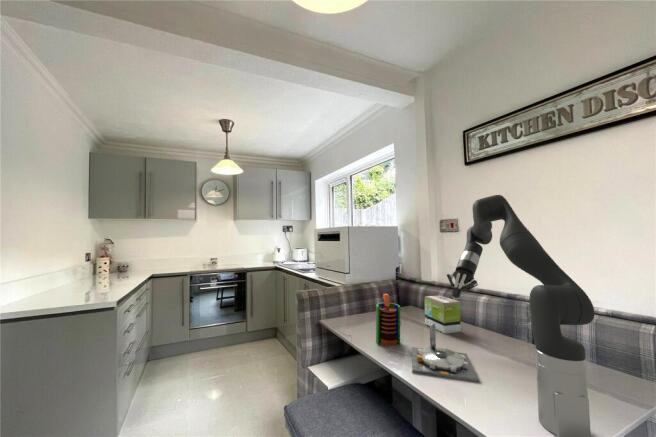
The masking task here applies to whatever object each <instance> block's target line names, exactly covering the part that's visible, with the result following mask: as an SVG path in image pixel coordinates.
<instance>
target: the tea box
mask: <svg viewBox="0 0 656 437" xmlns="http://www.w3.org/2000/svg"><path fill="white" fill-rule="evenodd" d="M461 323H462V322H461V301H459V300H455V299H453V298H448V297H447V296H442V295H427V296H424V324H425V325H427V326H429V327H430V324H435V330H437V331H438V332H440V331H441V333H443V334H444V333H446V334H451V333H452V334H455V333H460V332H461V330H462V329H461V327H462V326H461Z"/></svg>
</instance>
